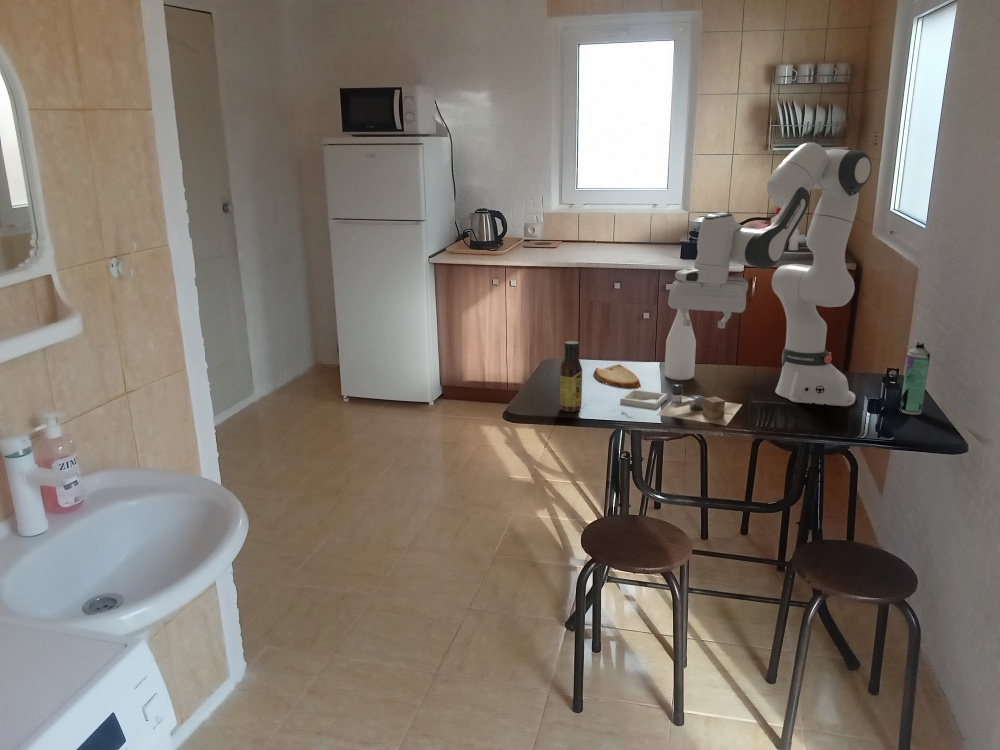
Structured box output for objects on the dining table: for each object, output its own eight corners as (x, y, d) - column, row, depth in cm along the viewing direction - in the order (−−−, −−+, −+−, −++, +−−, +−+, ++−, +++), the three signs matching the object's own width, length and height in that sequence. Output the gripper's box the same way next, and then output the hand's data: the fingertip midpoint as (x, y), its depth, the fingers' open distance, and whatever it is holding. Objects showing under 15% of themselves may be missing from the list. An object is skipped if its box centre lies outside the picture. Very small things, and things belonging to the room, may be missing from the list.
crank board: (741, 409, 219) (742, 404, 218) (726, 430, 202) (726, 424, 201) (676, 400, 227) (677, 394, 227) (656, 419, 211) (656, 414, 210)
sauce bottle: (580, 414, 216) (581, 345, 210) (558, 412, 217) (559, 344, 211) (582, 406, 222) (584, 340, 216) (561, 405, 223) (562, 339, 218)
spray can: (920, 410, 217) (931, 341, 212) (922, 415, 212) (932, 346, 207) (899, 407, 219) (908, 340, 214) (900, 413, 214) (910, 344, 209)
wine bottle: (688, 372, 256) (694, 284, 248) (697, 380, 247) (703, 288, 239) (661, 373, 256) (665, 284, 248) (668, 381, 247) (674, 289, 238)
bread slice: (638, 390, 238) (638, 379, 237) (583, 384, 245) (583, 373, 244) (651, 376, 254) (652, 365, 253) (599, 370, 261) (599, 360, 260)
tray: (666, 403, 224) (667, 393, 223) (655, 413, 215) (656, 403, 214) (632, 398, 229) (632, 389, 228) (620, 408, 220) (620, 398, 219)
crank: (696, 404, 217) (698, 378, 215) (707, 408, 214) (709, 381, 212) (667, 411, 211) (668, 384, 209) (677, 415, 208) (678, 388, 206)
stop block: (714, 413, 210) (716, 396, 209) (723, 418, 207) (725, 400, 205) (702, 415, 209) (703, 398, 208) (711, 420, 205) (712, 402, 204)
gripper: (744, 276, 204) (737, 327, 207) (669, 271, 203) (663, 322, 206) (753, 279, 198) (745, 331, 201) (676, 274, 197) (669, 326, 200)
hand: (703, 326), depth 204 cm, fingers open, 8 cm apart
